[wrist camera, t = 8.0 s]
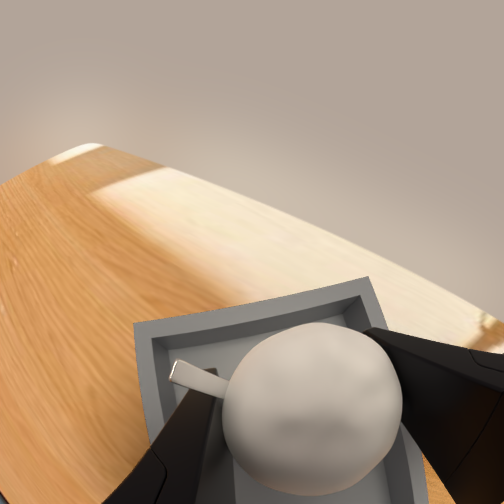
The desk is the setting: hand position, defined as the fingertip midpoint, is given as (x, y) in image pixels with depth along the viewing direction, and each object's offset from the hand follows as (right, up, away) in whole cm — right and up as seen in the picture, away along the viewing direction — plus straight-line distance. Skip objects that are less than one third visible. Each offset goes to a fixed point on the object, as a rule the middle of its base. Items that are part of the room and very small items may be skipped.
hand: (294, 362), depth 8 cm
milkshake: (0, -5, +5) cm, 7 cm away
